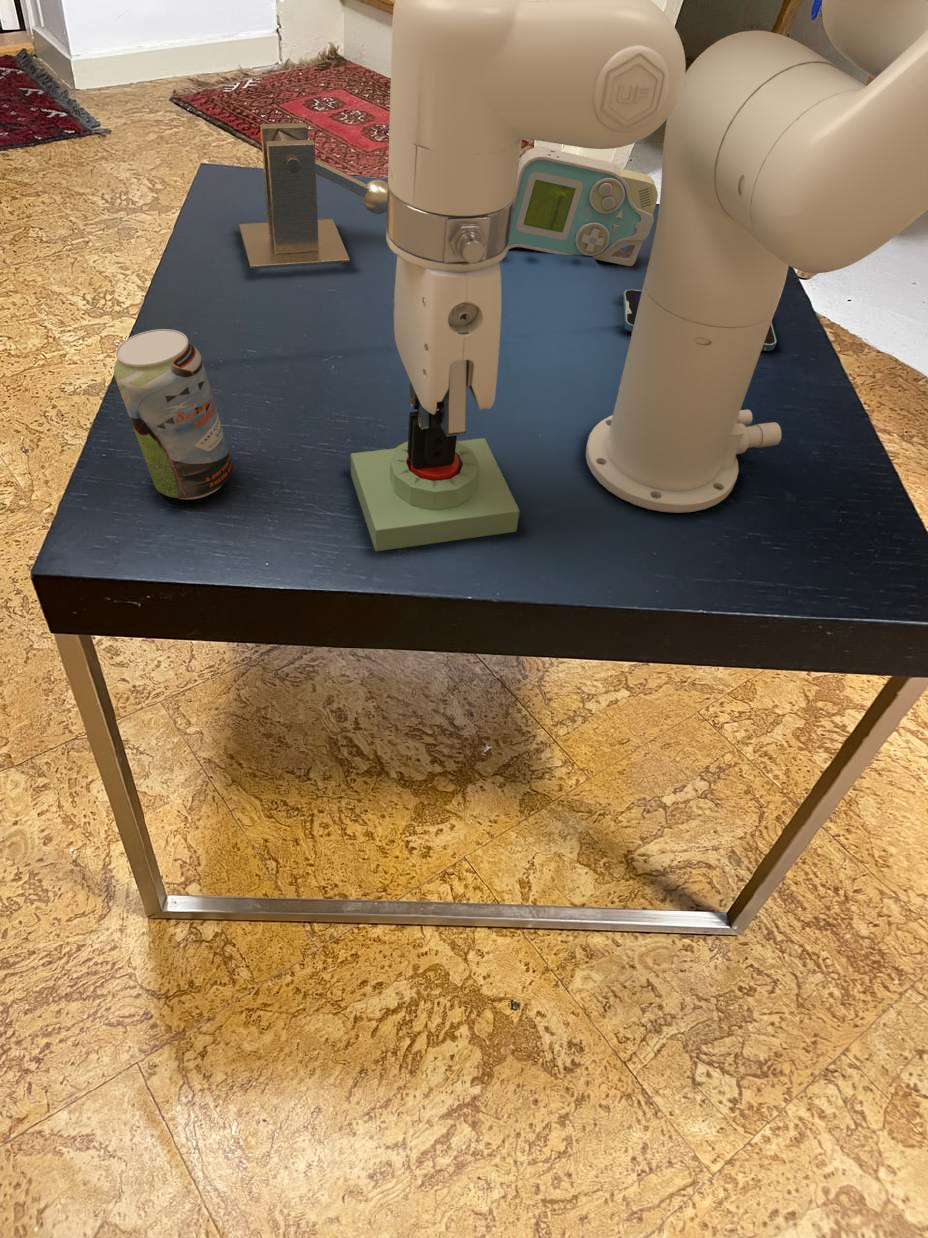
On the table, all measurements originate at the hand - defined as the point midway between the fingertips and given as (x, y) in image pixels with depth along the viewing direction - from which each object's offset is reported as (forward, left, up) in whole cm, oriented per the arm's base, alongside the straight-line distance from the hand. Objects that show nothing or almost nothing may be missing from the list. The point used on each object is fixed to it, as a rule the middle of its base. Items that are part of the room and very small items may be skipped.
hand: (430, 460), depth 71 cm
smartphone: (-33, -21, -4) cm, 40 cm away
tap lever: (0, -41, +2) cm, 41 cm away
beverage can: (+18, -6, -5) cm, 19 cm away
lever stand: (+4, -41, -4) cm, 41 cm away
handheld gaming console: (-25, -36, -5) cm, 44 cm away
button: (0, 0, -2) cm, 2 cm away
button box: (0, 0, -4) cm, 4 cm away
